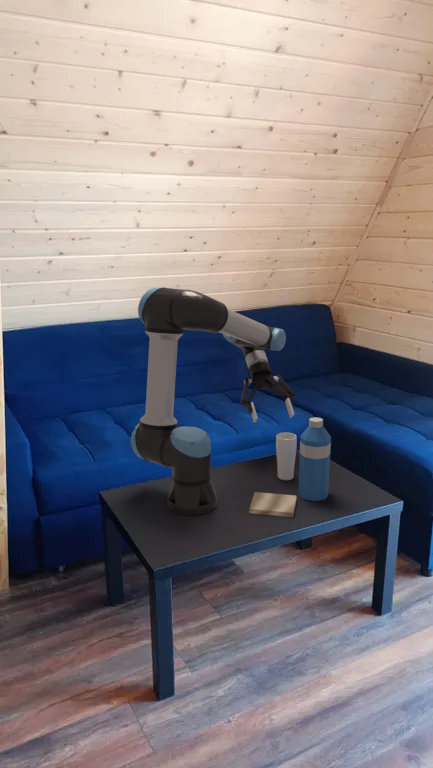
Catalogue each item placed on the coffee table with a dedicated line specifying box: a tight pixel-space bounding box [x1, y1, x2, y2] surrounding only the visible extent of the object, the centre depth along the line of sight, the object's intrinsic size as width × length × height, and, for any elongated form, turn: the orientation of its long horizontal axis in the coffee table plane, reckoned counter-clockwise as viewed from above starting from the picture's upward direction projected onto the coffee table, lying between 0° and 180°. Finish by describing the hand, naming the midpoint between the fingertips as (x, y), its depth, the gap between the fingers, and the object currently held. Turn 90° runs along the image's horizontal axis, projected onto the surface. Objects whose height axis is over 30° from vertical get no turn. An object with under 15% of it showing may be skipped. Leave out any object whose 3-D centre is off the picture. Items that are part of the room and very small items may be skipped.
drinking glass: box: [275, 431, 298, 481], centre depth 194 cm, size 7×7×15 cm
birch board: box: [248, 491, 298, 518], centre depth 176 cm, size 13×11×2 cm
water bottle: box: [298, 417, 332, 502], centre depth 180 cm, size 9×9×25 cm
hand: (274, 418), depth 201 cm, fingers open, 13 cm apart
